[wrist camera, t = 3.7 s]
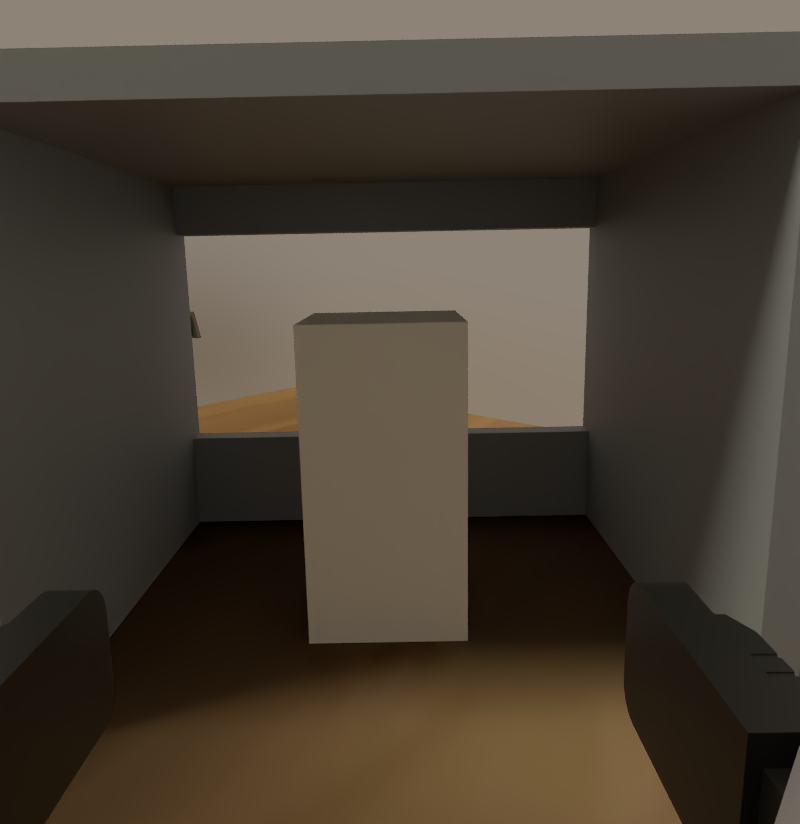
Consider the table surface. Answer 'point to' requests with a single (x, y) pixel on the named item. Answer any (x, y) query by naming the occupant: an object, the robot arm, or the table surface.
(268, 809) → the table surface
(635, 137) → the open box frame
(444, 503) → the cream block
